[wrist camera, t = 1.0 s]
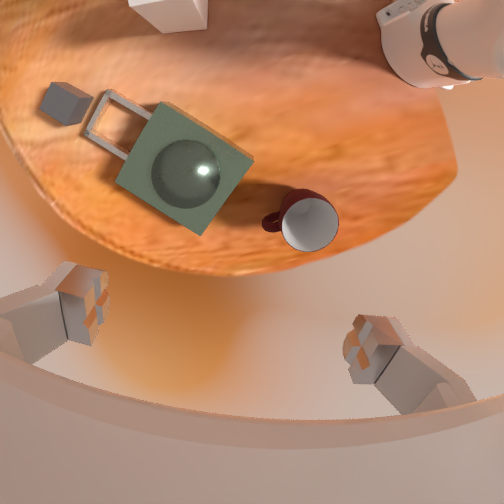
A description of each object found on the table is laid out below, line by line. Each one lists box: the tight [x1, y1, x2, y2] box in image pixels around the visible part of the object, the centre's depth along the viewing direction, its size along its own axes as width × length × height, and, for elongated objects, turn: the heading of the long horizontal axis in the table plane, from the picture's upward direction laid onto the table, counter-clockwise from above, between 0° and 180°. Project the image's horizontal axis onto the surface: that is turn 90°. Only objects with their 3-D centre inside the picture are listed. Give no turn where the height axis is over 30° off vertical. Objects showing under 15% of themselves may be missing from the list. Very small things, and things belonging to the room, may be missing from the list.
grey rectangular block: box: [40, 82, 94, 126], centre depth 37 cm, size 5×7×5 cm
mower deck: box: [83, 89, 254, 236], centre depth 41 cm, size 14×26×6 cm, turn 54°
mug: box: [262, 189, 339, 252], centre depth 44 cm, size 11×8×10 cm
